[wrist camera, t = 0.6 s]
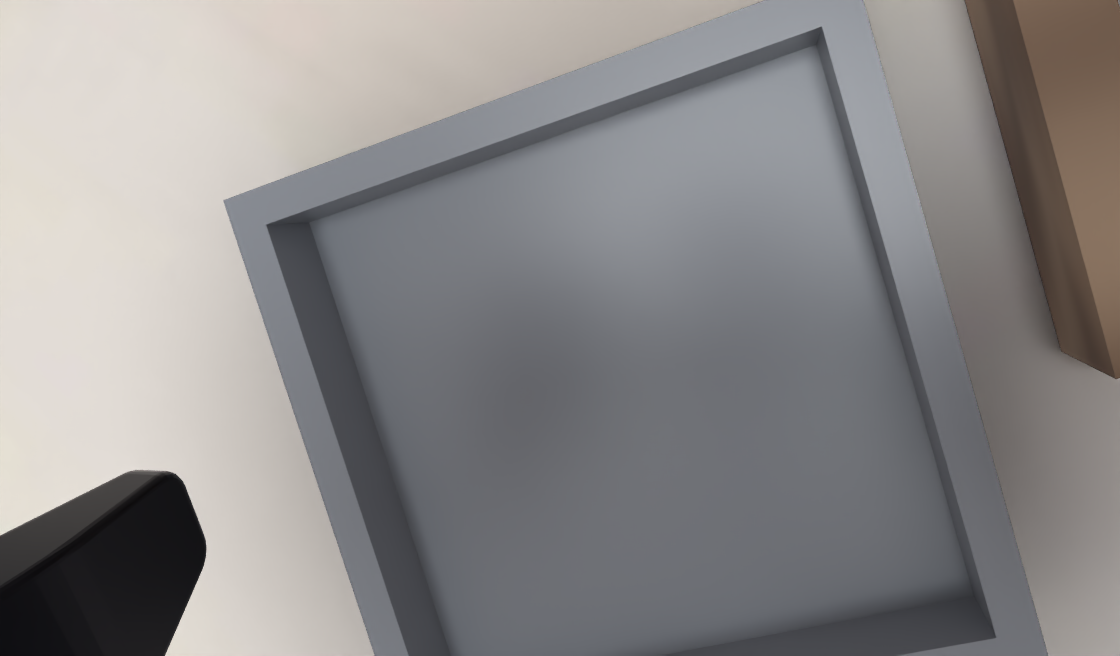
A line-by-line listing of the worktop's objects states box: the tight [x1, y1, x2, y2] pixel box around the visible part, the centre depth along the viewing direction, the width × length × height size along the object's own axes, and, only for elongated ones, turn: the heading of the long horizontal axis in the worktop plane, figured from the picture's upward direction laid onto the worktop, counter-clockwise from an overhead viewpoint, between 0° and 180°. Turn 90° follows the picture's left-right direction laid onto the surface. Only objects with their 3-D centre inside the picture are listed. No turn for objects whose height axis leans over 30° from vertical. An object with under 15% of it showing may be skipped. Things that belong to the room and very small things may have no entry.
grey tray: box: [223, 0, 1048, 656], centre depth 20 cm, size 14×14×2 cm
